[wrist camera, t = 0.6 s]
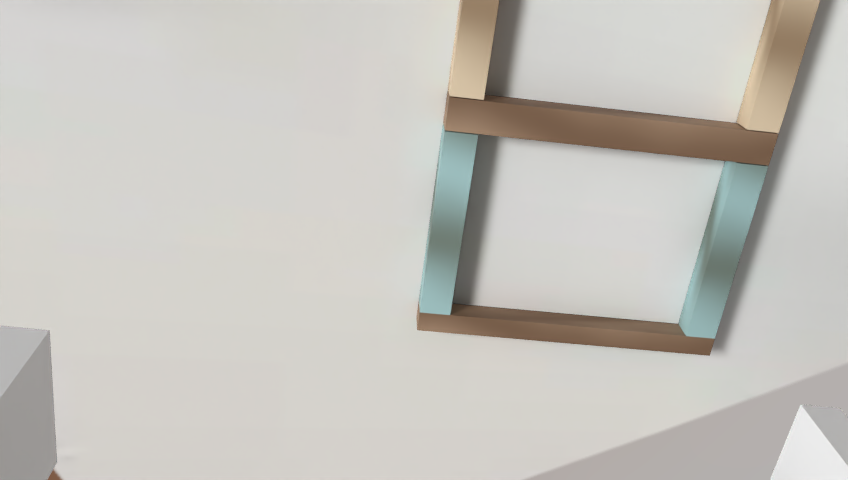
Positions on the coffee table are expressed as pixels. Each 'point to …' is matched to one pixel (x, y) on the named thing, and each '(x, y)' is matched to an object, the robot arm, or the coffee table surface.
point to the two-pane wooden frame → (616, 129)
